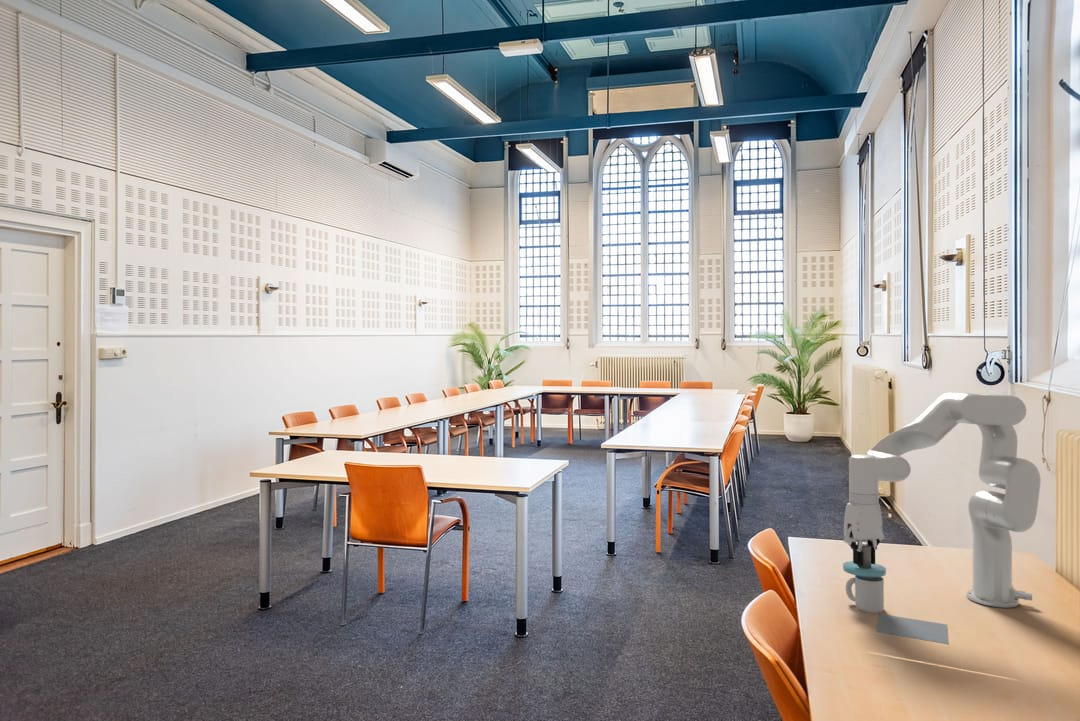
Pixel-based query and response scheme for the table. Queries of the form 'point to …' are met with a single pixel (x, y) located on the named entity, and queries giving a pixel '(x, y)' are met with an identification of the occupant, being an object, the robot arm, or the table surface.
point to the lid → (865, 565)
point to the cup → (867, 593)
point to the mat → (913, 628)
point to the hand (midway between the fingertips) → (864, 563)
